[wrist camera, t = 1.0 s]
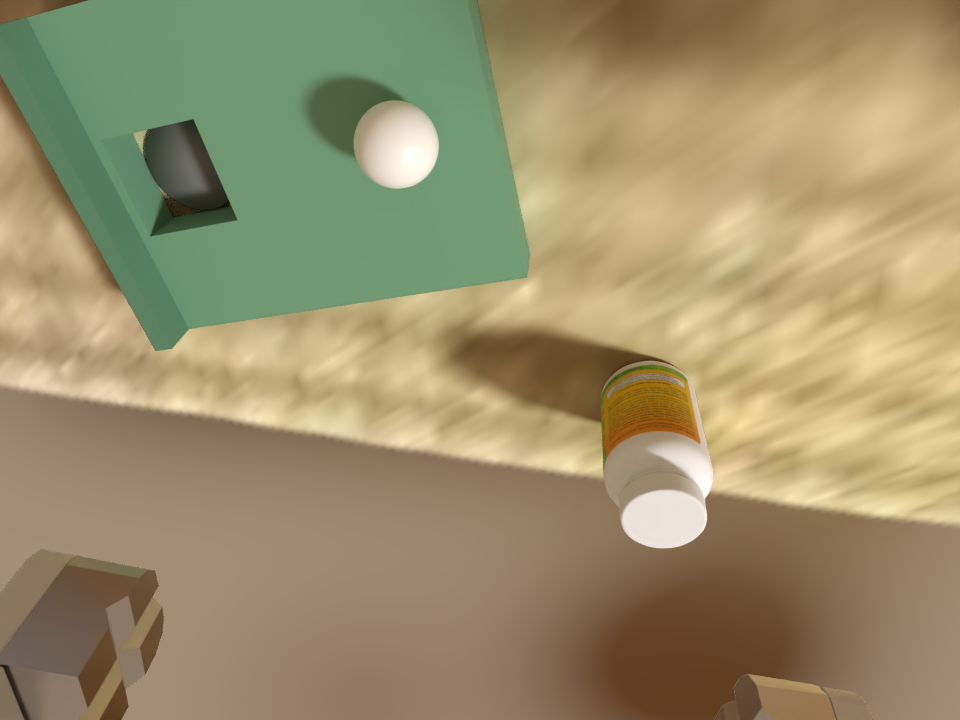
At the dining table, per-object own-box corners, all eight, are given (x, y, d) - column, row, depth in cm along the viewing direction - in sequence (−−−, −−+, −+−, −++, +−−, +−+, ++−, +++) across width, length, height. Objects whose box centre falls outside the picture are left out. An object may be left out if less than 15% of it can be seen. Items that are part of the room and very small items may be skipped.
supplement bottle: (582, 382, 41) (583, 504, 33) (667, 342, 39) (690, 461, 31) (628, 444, 43) (638, 572, 35) (711, 409, 41) (742, 537, 33)
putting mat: (455, -101, 29) (437, -98, 25) (529, 255, 37) (524, 297, 33) (43, 13, 33) (-25, 31, 29) (193, 308, 41) (155, 350, 38)
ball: (432, 82, 30) (417, 105, 27) (453, 164, 32) (440, 193, 29) (354, 100, 31) (331, 123, 28) (379, 178, 33) (359, 208, 30)
